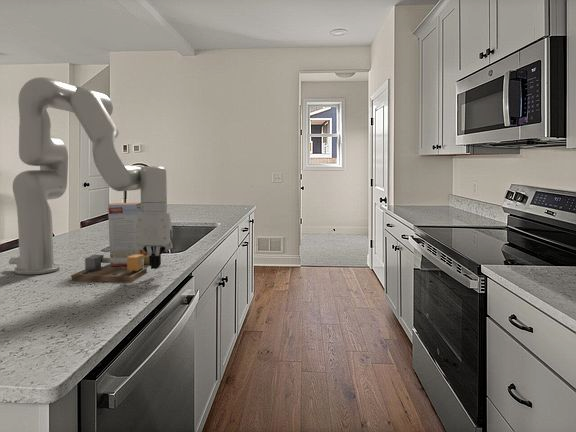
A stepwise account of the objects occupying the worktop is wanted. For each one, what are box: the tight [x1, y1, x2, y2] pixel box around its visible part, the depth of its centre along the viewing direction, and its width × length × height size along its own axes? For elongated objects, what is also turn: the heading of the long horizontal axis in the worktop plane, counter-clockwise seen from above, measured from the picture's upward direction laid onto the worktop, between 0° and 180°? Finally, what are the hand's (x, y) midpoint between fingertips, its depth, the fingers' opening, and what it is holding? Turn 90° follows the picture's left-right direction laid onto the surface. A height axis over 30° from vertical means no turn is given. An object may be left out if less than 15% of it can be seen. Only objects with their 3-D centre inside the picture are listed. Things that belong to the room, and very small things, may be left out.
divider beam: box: [84, 254, 145, 274], centre depth 146 cm, size 17×9×4 cm, turn 86°
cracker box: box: [107, 202, 149, 267], centre depth 163 cm, size 14×6×21 cm, turn 113°
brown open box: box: [70, 266, 148, 283], centre depth 145 cm, size 18×12×2 cm, turn 86°
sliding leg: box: [126, 254, 144, 273], centre depth 145 cm, size 3×10×4 cm, turn 176°
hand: (155, 267), depth 146 cm, fingers closed
